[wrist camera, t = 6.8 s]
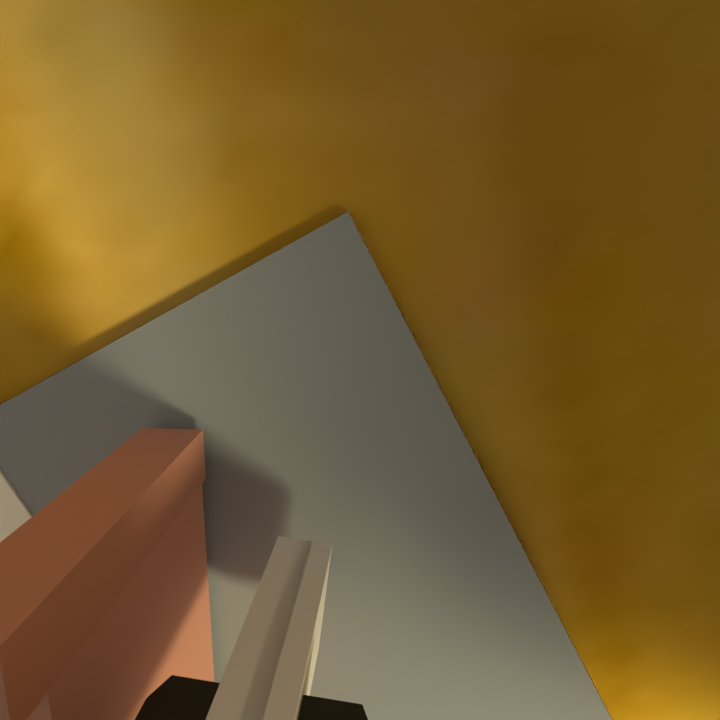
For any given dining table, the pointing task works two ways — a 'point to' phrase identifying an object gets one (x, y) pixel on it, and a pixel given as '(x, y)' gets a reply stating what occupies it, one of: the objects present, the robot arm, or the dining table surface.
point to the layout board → (322, 484)
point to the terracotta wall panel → (109, 586)
